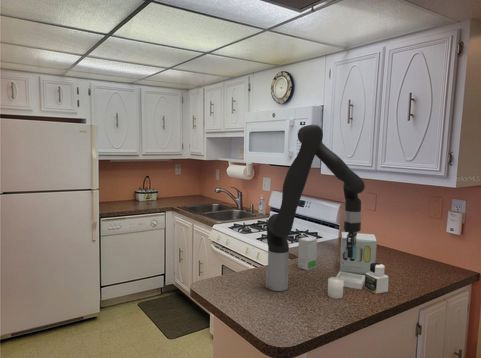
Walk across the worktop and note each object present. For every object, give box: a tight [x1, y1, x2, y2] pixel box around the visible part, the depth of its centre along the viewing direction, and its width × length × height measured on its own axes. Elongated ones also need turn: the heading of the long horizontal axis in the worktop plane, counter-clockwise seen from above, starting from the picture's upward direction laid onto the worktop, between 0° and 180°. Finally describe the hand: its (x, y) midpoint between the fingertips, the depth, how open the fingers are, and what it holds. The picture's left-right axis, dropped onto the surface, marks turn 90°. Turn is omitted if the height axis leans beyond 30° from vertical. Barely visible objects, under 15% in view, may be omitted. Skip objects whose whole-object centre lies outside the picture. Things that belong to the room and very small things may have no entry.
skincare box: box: [297, 236, 318, 271], centre depth 187 cm, size 8×7×16 cm
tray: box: [335, 270, 365, 290], centre depth 167 cm, size 12×12×3 cm
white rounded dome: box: [327, 276, 344, 299], centre depth 152 cm, size 6×6×7 cm
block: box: [345, 245, 358, 259], centre depth 166 cm, size 5×5×5 cm
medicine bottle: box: [364, 262, 389, 294], centre depth 159 cm, size 7×7×12 cm
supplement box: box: [339, 231, 378, 275], centre depth 185 cm, size 17×13×18 cm
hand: (351, 255), depth 166 cm, fingers closed on block, 5 cm apart
